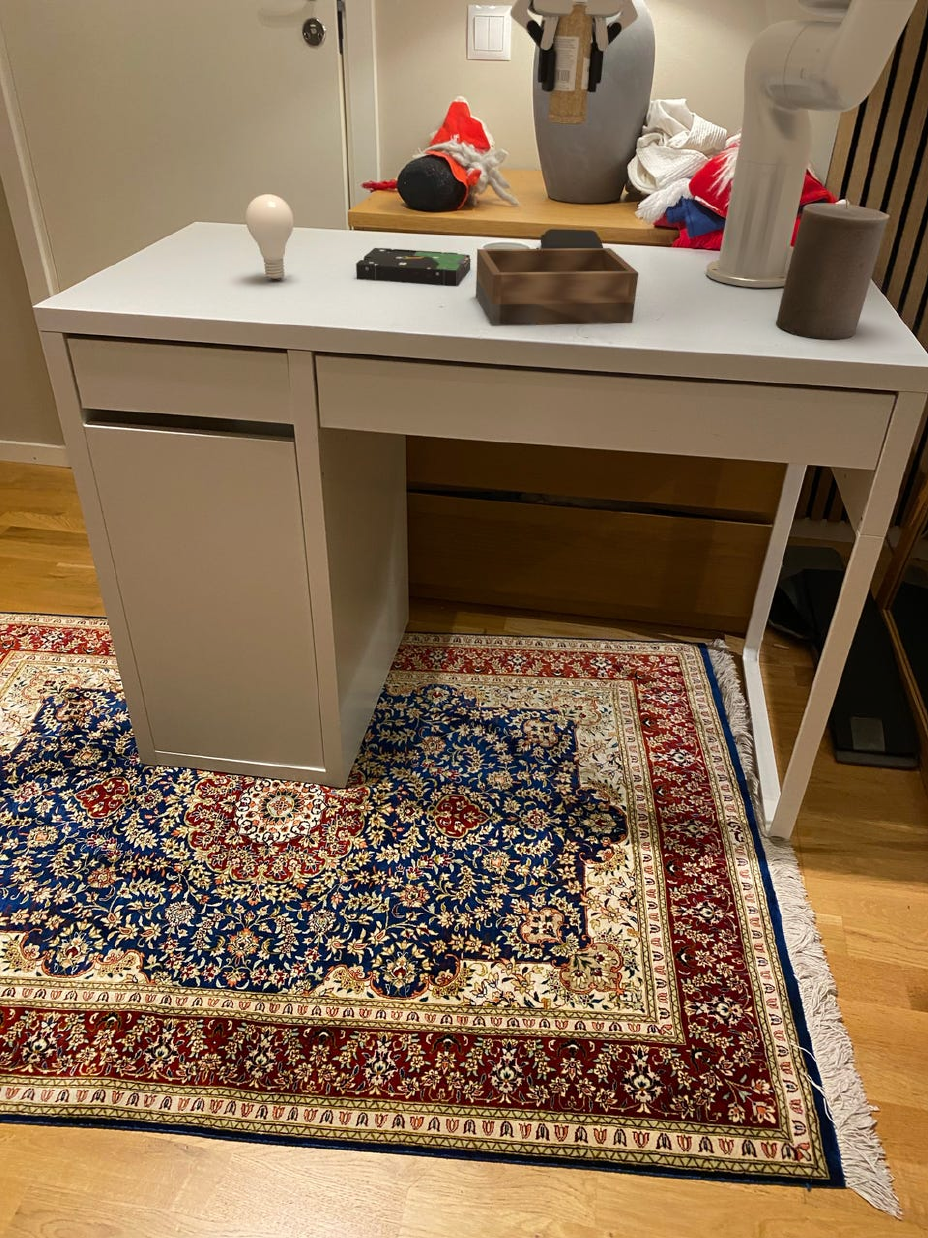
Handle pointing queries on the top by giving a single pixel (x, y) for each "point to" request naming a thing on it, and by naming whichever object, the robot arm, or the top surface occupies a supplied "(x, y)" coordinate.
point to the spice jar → (571, 66)
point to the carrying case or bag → (570, 239)
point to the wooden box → (555, 286)
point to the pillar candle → (830, 270)
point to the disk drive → (413, 266)
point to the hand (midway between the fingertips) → (568, 88)
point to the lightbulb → (270, 231)
